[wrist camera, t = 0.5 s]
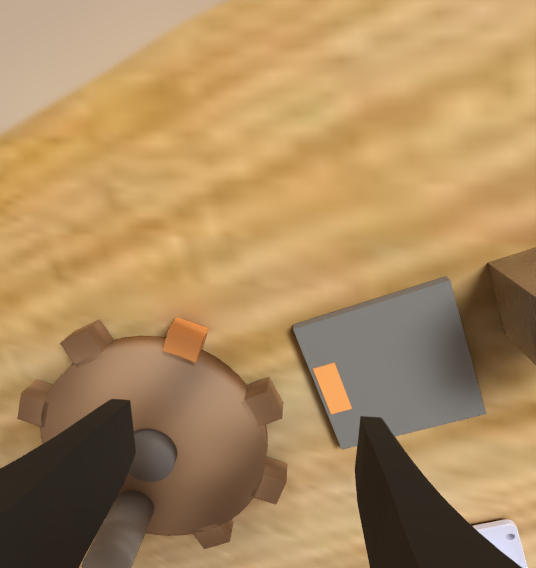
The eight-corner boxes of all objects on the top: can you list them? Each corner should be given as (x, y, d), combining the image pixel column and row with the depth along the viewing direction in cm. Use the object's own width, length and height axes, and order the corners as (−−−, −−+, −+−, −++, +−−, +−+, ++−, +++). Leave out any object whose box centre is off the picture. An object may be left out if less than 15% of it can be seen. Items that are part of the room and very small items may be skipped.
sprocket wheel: (330, 370, 23) (336, 437, 18) (244, 559, 28) (229, 653, 23) (52, 274, 22) (-23, 316, 17) (19, 486, 28) (-46, 565, 23)
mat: (481, 407, 23) (486, 414, 22) (340, 442, 25) (341, 450, 24) (446, 276, 21) (450, 280, 20) (293, 324, 22) (293, 329, 22)
